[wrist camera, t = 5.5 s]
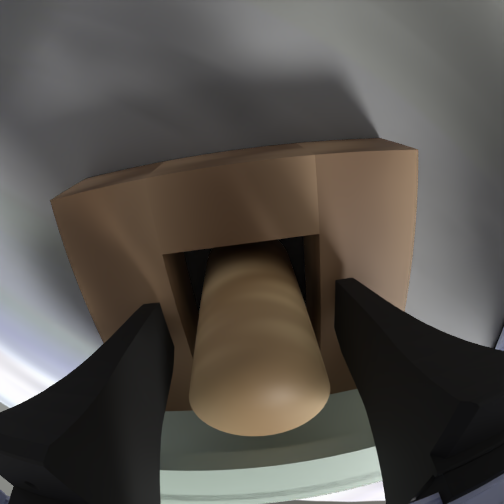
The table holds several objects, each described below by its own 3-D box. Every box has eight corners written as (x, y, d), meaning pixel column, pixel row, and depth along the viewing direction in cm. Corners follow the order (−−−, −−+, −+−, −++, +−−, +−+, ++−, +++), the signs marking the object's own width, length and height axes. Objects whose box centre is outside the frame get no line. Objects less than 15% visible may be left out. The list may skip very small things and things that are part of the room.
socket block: (380, 137, 12) (418, 149, 9) (367, 360, 17) (384, 399, 14) (85, 178, 12) (50, 200, 9) (158, 386, 17) (150, 427, 14)
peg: (287, 224, 13) (334, 340, 7) (292, 298, 15) (326, 426, 8) (199, 235, 13) (171, 358, 7) (214, 308, 15) (205, 440, 8)
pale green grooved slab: (374, 305, 15) (441, 424, 8) (367, 360, 17) (413, 470, 10) (136, 335, 15) (97, 464, 8) (158, 386, 17) (138, 502, 10)
